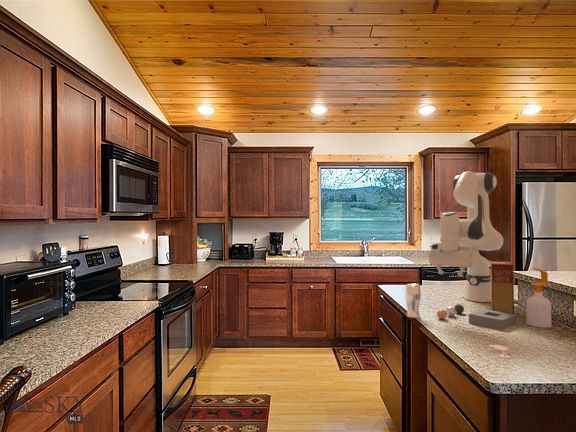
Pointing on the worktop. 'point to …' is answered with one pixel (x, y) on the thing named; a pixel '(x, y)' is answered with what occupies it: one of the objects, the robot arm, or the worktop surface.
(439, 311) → the terracotta ball
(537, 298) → the soap bottle
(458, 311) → the black rubber ball
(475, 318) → the housing
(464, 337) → the worktop surface
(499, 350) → the brush
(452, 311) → the steel ball
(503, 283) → the food packaging
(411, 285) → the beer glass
